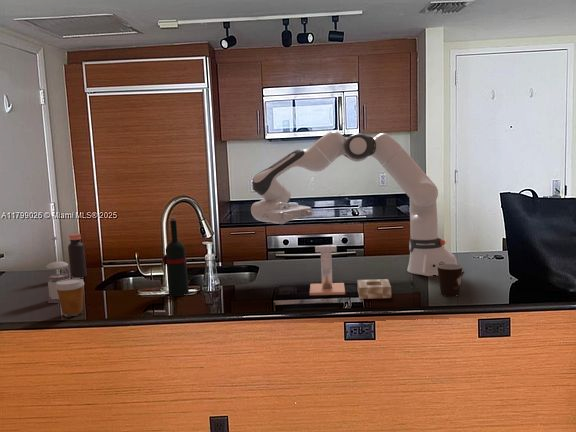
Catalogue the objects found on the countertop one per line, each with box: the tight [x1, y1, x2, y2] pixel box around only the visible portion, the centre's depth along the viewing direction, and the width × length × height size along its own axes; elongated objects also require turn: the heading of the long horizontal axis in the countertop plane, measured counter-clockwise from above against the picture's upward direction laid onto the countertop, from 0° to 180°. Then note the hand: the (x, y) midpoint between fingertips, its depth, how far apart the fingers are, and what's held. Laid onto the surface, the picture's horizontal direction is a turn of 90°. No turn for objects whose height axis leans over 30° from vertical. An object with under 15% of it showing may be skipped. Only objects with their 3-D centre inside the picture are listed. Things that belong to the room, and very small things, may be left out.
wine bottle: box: [161, 216, 190, 297], centre depth 208 cm, size 8×10×30 cm
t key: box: [314, 244, 338, 289], centre depth 204 cm, size 8×4×16 cm, turn 86°
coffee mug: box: [437, 263, 464, 297], centre depth 192 cm, size 12×9×10 cm
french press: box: [45, 236, 71, 299], centre depth 208 cm, size 10×12×25 cm
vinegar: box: [67, 233, 88, 277], centre depth 245 cm, size 7×7×20 cm
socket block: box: [357, 278, 392, 300], centre depth 196 cm, size 11×11×4 cm
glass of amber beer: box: [55, 278, 85, 314], centre depth 188 cm, size 10×10×12 cm
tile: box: [309, 282, 346, 296], centre depth 205 cm, size 13×13×1 cm
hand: (302, 215), depth 210 cm, fingers open, 8 cm apart
